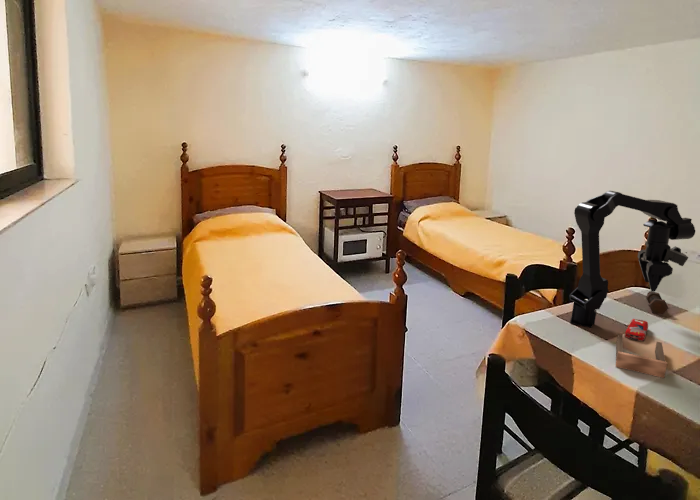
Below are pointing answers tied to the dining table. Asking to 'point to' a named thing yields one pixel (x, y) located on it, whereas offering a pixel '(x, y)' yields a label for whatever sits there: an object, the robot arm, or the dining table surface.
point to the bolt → (656, 303)
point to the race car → (637, 329)
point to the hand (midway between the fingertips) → (649, 286)
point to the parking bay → (641, 360)
